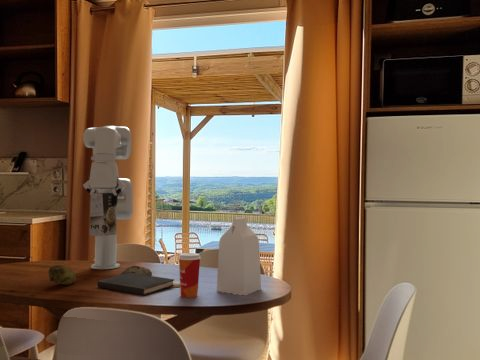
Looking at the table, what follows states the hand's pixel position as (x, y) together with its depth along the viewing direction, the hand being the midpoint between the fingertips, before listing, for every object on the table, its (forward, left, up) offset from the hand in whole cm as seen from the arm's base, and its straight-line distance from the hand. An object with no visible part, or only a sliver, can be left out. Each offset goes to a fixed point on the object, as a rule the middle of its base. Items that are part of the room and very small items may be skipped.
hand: (104, 205), depth 161 cm
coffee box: (0, 0, -11) cm, 11 cm away
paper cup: (+17, +35, -30) cm, 49 cm away
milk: (+8, +52, -30) cm, 61 cm away
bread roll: (-14, +9, -30) cm, 34 cm away
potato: (+2, -14, -30) cm, 33 cm away
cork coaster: (+1, +28, -30) cm, 41 cm away
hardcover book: (+5, +14, -30) cm, 33 cm away
